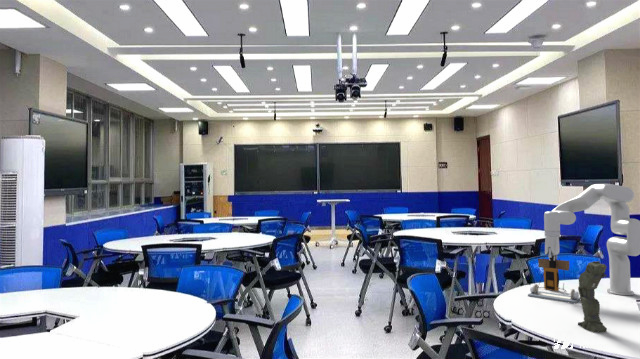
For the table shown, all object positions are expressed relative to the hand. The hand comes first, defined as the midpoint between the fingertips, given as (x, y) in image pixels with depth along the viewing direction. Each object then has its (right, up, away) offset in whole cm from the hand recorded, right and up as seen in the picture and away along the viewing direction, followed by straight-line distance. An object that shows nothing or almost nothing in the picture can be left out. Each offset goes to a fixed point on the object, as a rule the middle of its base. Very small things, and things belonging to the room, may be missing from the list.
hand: (553, 267), depth 231 cm
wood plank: (0, -1, 0) cm, 1 cm away
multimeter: (+11, -17, +19) cm, 28 cm away
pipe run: (0, -16, -1) cm, 16 cm away
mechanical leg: (-12, -15, -53) cm, 56 cm away
